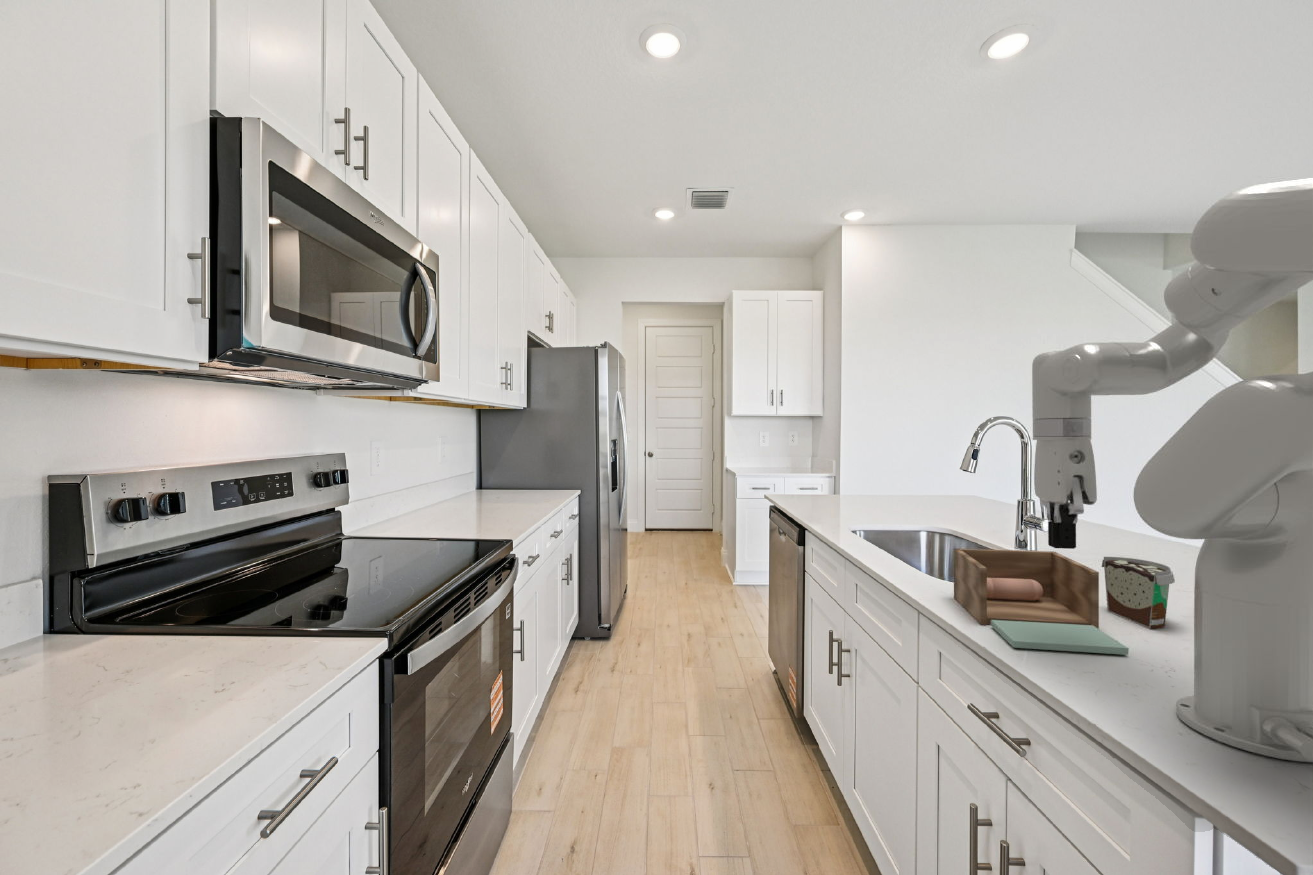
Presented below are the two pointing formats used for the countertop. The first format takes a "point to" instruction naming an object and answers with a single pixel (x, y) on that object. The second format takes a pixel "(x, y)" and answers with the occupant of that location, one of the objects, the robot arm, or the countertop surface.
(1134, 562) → the food container
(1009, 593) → the pink cylinder
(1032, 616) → the crate
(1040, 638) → the flat green panel
